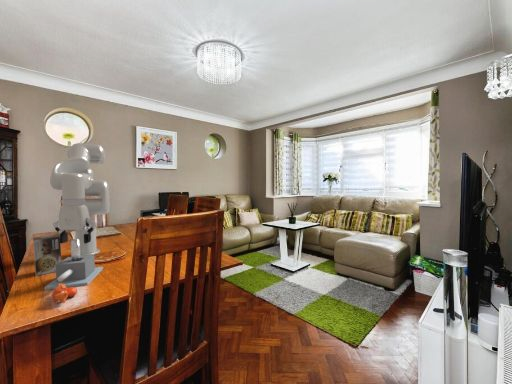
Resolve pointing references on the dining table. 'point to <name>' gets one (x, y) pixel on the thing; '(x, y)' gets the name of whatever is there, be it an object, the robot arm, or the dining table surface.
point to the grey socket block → (75, 272)
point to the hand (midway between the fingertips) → (75, 242)
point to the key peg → (75, 250)
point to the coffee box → (46, 253)
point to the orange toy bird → (63, 293)
